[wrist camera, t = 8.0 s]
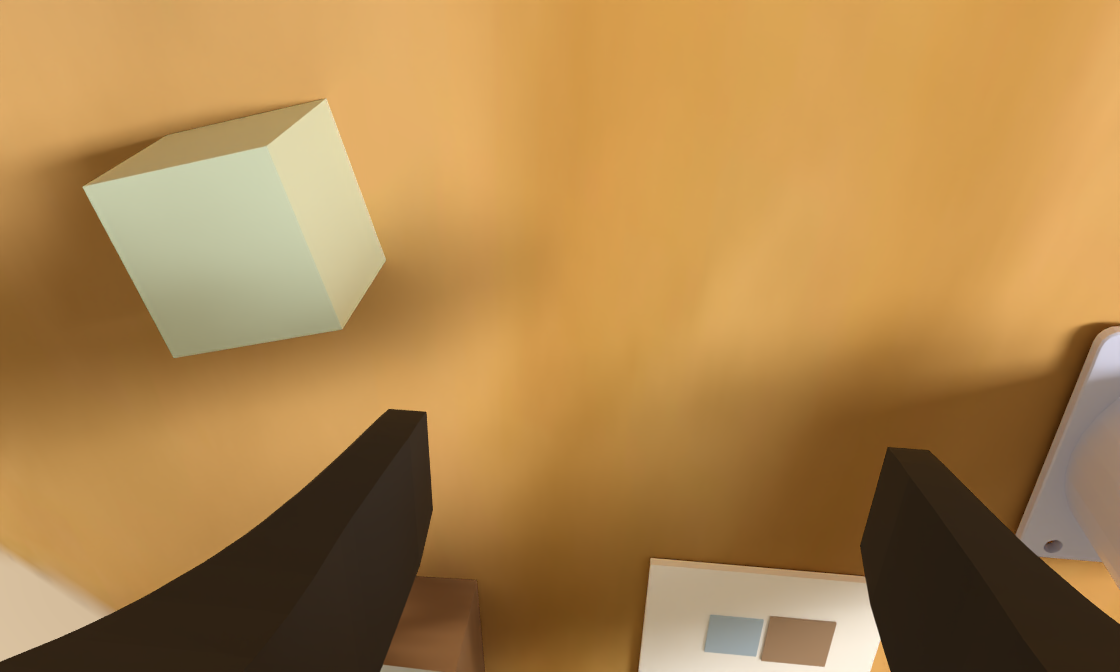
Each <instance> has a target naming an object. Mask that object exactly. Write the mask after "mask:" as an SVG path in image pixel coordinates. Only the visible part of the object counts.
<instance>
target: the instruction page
mask: <svg viewBox="0 0 1120 672" xmlns="http://www.w3.org/2000/svg"><path fill="white" fill-rule="evenodd" d="M879 642H880V636H879V632H878V629H877V626H876V623H875V619H874V616H873V613H872V609H871V606H870V601H869V595H868V590H867V584H866V579H865V576H854V575H843V574H831V573H820V572H808V571H796V570H785V569H773V568H762V567H750V566H739V565H727V564H715V563H704V562H692V561H681V560H669V559H658V558H651V560H650V569H649V578H648V587H647V596H646V605H645V614H644V623H643V632H642V641H641V650H640V659H639V668H638V672H870V670H871V667H872V664H873V661H874V658H875V655H876V652H877V648H878V645H879Z"/></svg>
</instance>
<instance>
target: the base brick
mask: <svg viewBox="0 0 1120 672" xmlns="http://www.w3.org/2000/svg"><path fill="white" fill-rule="evenodd" d="M383 665H389V666H397V667H406V668H414V669H422V670H431V671H439V672H485V666H484V655H483V643H482V632H481V621H480V609H479V598H478V586H477V580H469V579H453V578H436V577H420V576H416V577H415V580H414V583H413V585H412V588H411V591H410V594H409V596H408V599H407V602H406V604H405V607H404V610H403V612H402V615H401V618H400V620H399V623H398V626H397V628H396V631H395V634H394V636H393V639H392V642H391V644H390V647H389V650H388V652H387V655H386V658H385V660H384V663H383Z"/></svg>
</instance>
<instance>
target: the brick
mask: <svg viewBox="0 0 1120 672" xmlns="http://www.w3.org/2000/svg"><path fill="white" fill-rule="evenodd" d="M83 189H84V191H85V193H86V195H87V196H88V198H89V200H90V202H91V204H92V206H93V208H94V210H95V212H96V213H97V215H98V217H99V219H100V221H101V223H102V225H103V227H104V228H105V230H106V232H107V234H108V236H109V238H110V240H111V242H112V243H113V245H114V247H115V249H116V251H117V253H118V255H119V257H120V258H121V260H122V262H123V264H124V266H125V268H126V270H127V272H128V273H129V275H130V277H131V279H132V281H133V283H134V285H135V287H136V288H137V290H138V292H139V294H140V296H141V298H142V300H143V302H144V303H145V305H146V307H147V309H148V311H149V313H150V315H151V317H152V318H153V320H154V322H155V324H156V326H157V328H158V330H159V332H160V333H161V335H162V337H163V339H164V341H165V343H166V345H167V347H168V348H169V350H170V352H171V354H172V356H173V358H178V357H184V356H190V355H196V354H202V353H207V352H213V351H219V350H225V349H231V348H237V347H243V346H248V345H254V344H260V343H266V342H272V341H278V340H284V339H289V338H295V337H301V336H307V335H313V334H319V333H325V332H330V331H336V330H342V329H343V328H344V326H345V325H346V323H347V321H348V320H349V318H350V317H351V315H352V313H353V312H354V310H355V309H356V307H357V306H358V304H359V302H360V301H361V299H362V298H363V296H364V294H365V293H366V291H367V290H368V288H369V287H370V285H371V283H372V282H373V280H374V279H375V277H376V275H377V274H378V272H379V271H380V269H381V268H382V266H383V264H384V263H385V261H386V259H385V256H384V253H383V250H382V248H381V245H380V242H379V240H378V237H377V234H376V231H375V229H374V226H373V223H372V221H371V218H370V215H369V212H368V210H367V207H366V204H365V202H364V199H363V196H362V194H361V191H360V188H359V185H358V183H357V180H356V177H355V175H354V172H353V169H352V166H351V164H350V161H349V158H348V156H347V153H346V150H345V147H344V145H343V142H342V139H341V137H340V134H339V131H338V129H337V126H336V123H335V120H334V118H333V115H332V112H331V110H330V107H329V104H328V101H327V99H321V100H317V101H313V102H308V103H304V104H300V105H295V106H291V107H286V108H282V109H278V110H273V111H269V112H265V113H260V114H256V115H252V116H247V117H243V118H239V119H234V120H230V121H226V122H221V123H217V124H213V125H208V126H204V127H199V128H195V129H191V130H186V131H182V132H178V133H173V134H169V135H166V136H164V137H163V138H161V139H160V140H158V141H156V142H155V143H153V144H151V145H150V146H148V147H146V148H145V149H143V150H142V151H140V152H138V153H137V154H135V155H133V156H132V157H130V158H129V159H127V160H125V161H124V162H122V163H120V164H119V165H117V166H115V167H114V168H112V169H111V170H109V171H107V172H106V173H104V174H102V175H101V176H99V177H97V178H96V179H94V180H93V181H91V182H89V183H88V184H86V185H84V186H83Z"/></svg>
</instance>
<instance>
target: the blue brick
mask: <svg viewBox="0 0 1120 672" xmlns="http://www.w3.org/2000/svg"><path fill="white" fill-rule="evenodd" d="M380 672H439V671H431V670H422V669H414V668H406V667H397V666H389V665H383V666H382V668H381V671H380Z"/></svg>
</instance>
